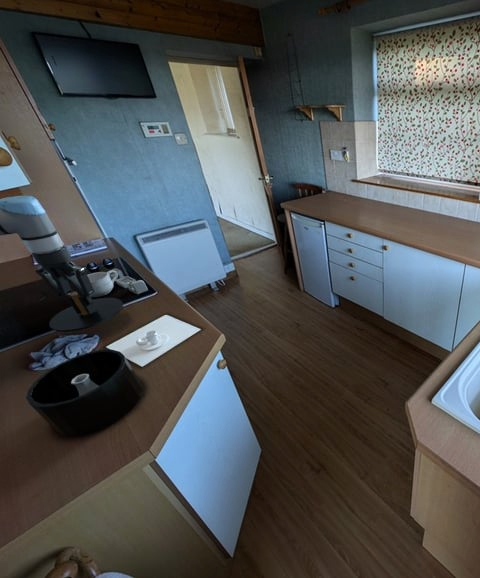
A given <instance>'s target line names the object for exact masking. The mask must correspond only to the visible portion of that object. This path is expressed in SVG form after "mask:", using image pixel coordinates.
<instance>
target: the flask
mask: <svg viewBox="0 0 480 578" xmlns="http://www.w3.org/2000/svg"><path fill="white" fill-rule="evenodd" d="M71 384H73V385H75V386H76V387H77V390H78V392H79V396H81V395H84V394H86V393H88V392H90V391H91V390H93V389H95V388H97V387H99V386H98V385H96V384H95V383H94V382H92V381H91V380H90V379H89V374H82V375H78V376H76V377H75V378H74V379H72V382H71Z"/></svg>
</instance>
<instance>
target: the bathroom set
mask: <svg viewBox="0 0 480 578" xmlns="http://www.w3.org/2000/svg"><path fill="white" fill-rule="evenodd" d="M112 270H113V271H115V272H117V274H118V276H117V279H116V280H115V281H114V282H115V283H116V285H118V286H120V287H122V288H124V289H128V291H130V292H132V293H134V294H136V295H139V294H141V293H142V294H143V293H144V292H147V291H149V289H148V287H147V285H146V283H145V282H144V280H141V279H139V280H137V279H135V278H132V277H130V276H128V275H126V276H124V274H123V272H122V270H120V269H118V268H116V267H115V268H113V269H112ZM109 276H110V279H111V280H112V279H113V277H114V273H110V275H109Z"/></svg>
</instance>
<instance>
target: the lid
mask: <svg viewBox="0 0 480 578" xmlns="http://www.w3.org/2000/svg"><path fill="white" fill-rule="evenodd" d="M70 296H71V297H72V299H73V300H74V302H75V304H76V305H77V307H78V308H79V310H80V311H81V314H77V313H76V311H75V310H74V308H73V307H72V305H70V306H69V307H67V308H65V309H63V310H62V311H60V312H58V313H57V314H55V315H54V316H53V317H52V318H51V319H50V321H49V324H48V325H49V328H50V329H51V330H53V331H55V332H61V333H62V332H63V333H64V332H65V333H69V332H75V331H80V330H86V329H89V328H92V327H95V326H98V325H100V324H103V323H105V322H107V321H108V320H110V319H113V318H114V317H115V316H116V315H118V314H119V313H120V312H121V311H122V309H123V307H124V303H123V301H122V300H120V299H119V298H115V297H99V298H94V299H92V300H93V304H94V306H95V307H96V309H97V310H95V311H94V312H93V313H91V314H88V313H87V311H86V310H85V308H84V306H83V305H82V303H81V302H80V300H79V297H80V296H79V294H78V293H77V292H76V291H74V292H73V293H71V294H70Z"/></svg>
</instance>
